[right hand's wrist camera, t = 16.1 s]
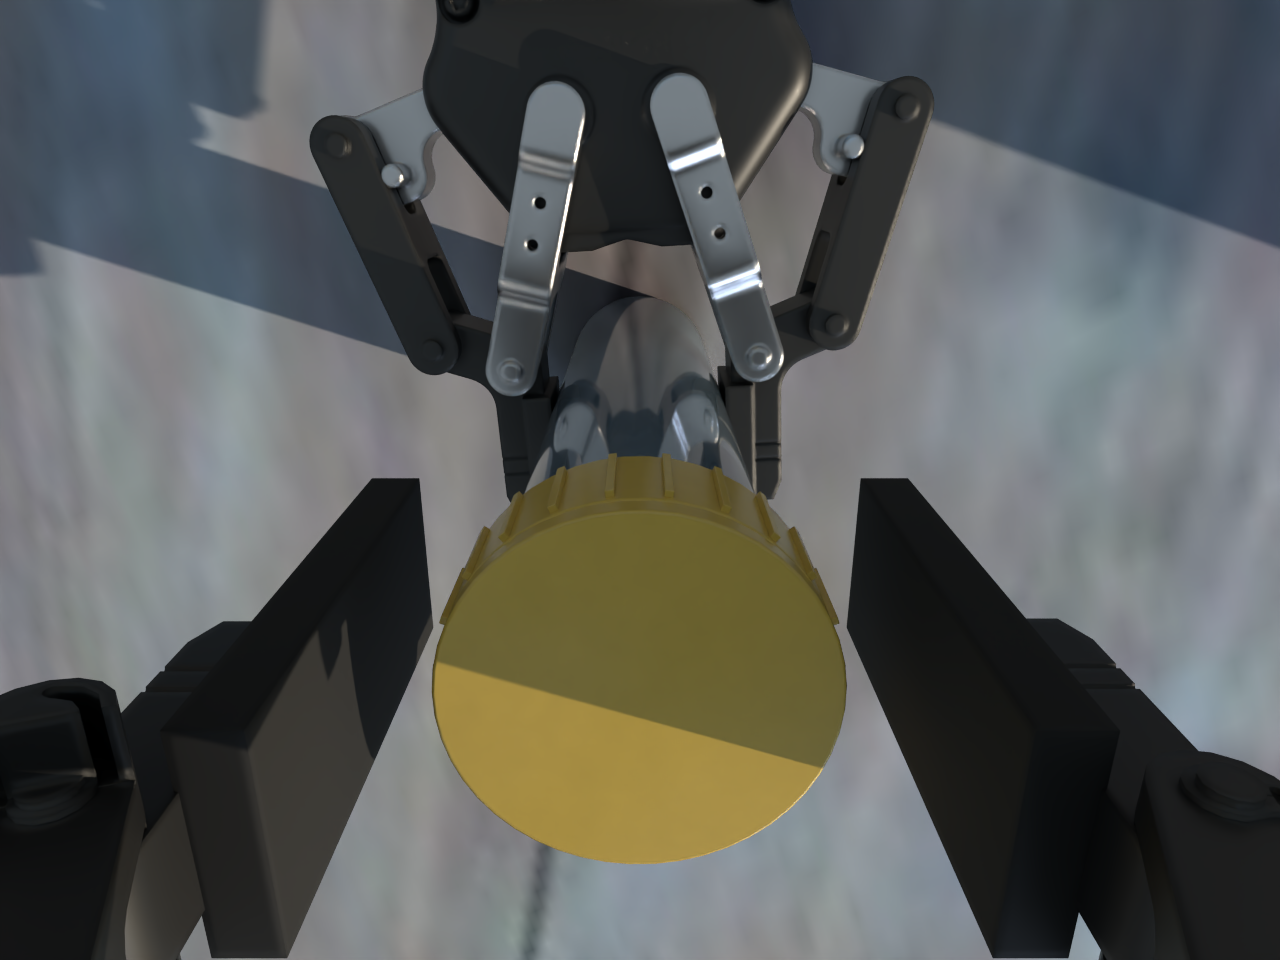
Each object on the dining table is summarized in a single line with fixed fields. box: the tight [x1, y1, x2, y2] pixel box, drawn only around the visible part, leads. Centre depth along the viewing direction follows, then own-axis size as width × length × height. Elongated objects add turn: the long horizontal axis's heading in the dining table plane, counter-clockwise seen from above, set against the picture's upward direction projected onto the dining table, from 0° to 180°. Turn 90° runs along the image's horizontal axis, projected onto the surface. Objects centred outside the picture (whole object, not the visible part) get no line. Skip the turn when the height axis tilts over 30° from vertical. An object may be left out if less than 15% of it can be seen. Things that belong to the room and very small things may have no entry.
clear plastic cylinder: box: [524, 296, 755, 494], centre depth 19 cm, size 4×4×18 cm
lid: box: [432, 453, 847, 864], centre depth 11 cm, size 5×5×2 cm
